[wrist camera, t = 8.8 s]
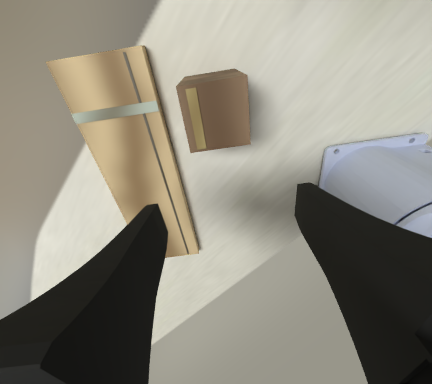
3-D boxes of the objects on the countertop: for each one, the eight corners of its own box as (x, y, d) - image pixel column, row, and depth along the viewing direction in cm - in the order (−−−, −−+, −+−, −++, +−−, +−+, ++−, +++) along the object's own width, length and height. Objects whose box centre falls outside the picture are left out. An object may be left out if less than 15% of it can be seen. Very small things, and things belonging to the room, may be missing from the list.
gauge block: (234, 68, 16) (247, 75, 11) (238, 119, 19) (250, 144, 14) (184, 76, 17) (175, 86, 12) (194, 126, 19) (190, 153, 14)
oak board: (144, 45, 15) (140, 45, 14) (198, 247, 28) (198, 254, 27) (53, 61, 16) (44, 61, 15) (147, 254, 28) (145, 260, 27)
